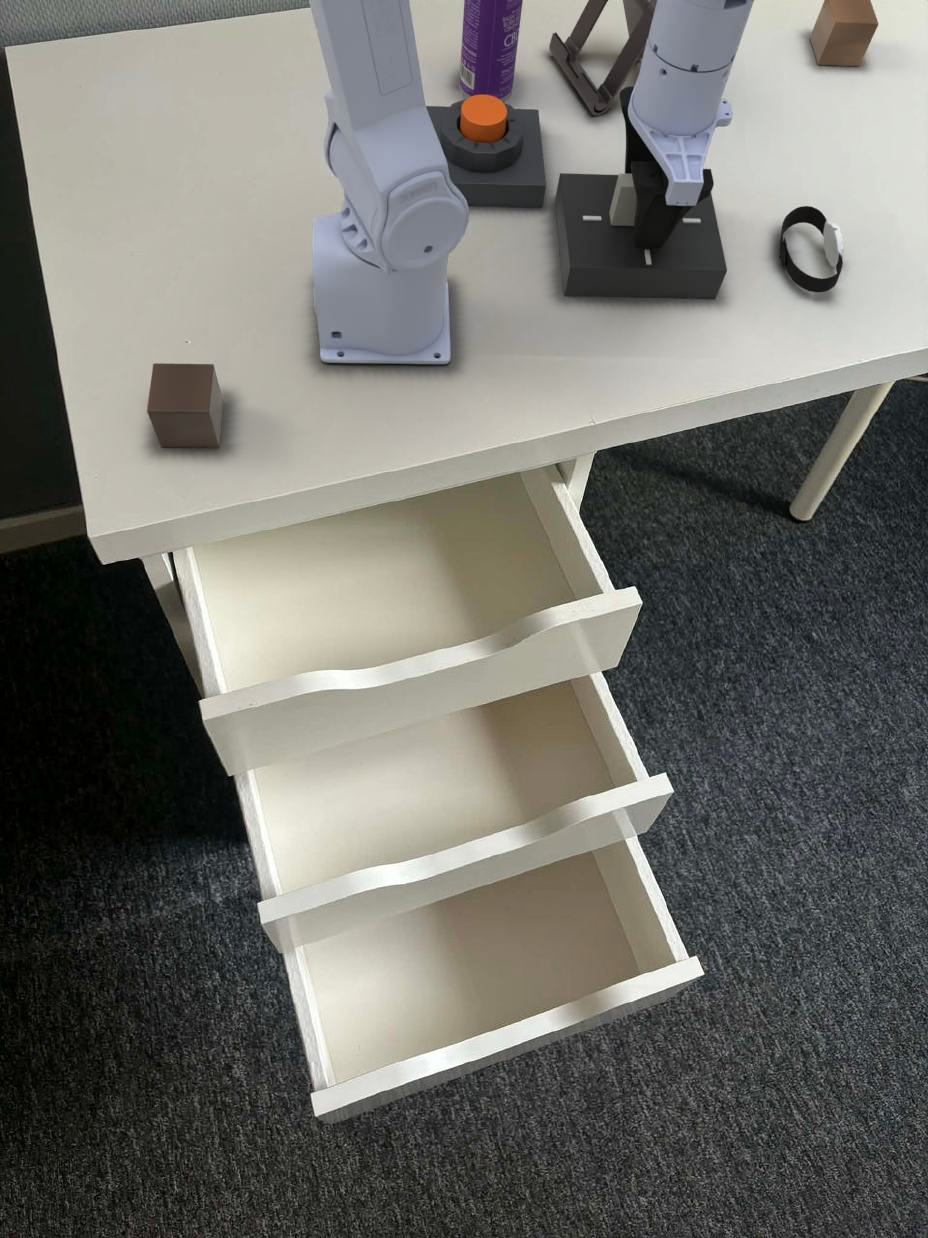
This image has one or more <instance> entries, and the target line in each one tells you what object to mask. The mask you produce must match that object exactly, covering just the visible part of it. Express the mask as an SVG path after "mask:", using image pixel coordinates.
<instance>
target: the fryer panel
mask: <svg viewBox="0 0 928 1238" xmlns="http://www.w3.org/2000/svg"><path fill="white" fill-rule="evenodd" d="M618 175H619V174H599V173H596V174H595V173H567V172H566V173H565V172H561V173H559V175H558V176H559V177H558V181H557V182H558V183H557V187H556V193H555V198H554V211H555V212H554V214H555V222H556V223H555V224H556V232H557V242H558V253H559V261H560V270H561V271H560V272H561V278H562V279H561V280H562V281H561V282H562V290H563V296H564V297H584V298H588V297H589V298H590V297H591V298H637V299H638V298H641V299H642V298H643V299H648V298H649V299H685V300H687V299H691V300H693V299H694V300H716V298H717V296H718V294H719V292H720V289H721V286H722V284H723V282H724V280H725V278H726V275H727V272H728V269H727V268H728V267H727V263H726V257H725V253H724V249H723V248H724V247H723V244H722V239H721V234H720V229H719V225H718V224H719V223H718V218H717V215H716V210H715V204H714V199H713V195H712V194H713V193H712V192H711V193H710V195H709V196H708V197H707V198H705V199H703V200H702V201H700V202H699V203H698V204H696V206H694V207H693V208H691V209H690V210H689V211H688V212H687V213H686V214H685V215H684V217H683V218H682V219H681V220H680V222H679V223H678V224H677V226H676V227H675V229H674V230H673V231H672V233H671V234H670V236H669V237H668V239H667V240H666V242H665V243H664V244H663V246H662V247H661V248H636V247H635V243H634V226H612V225H611V221H610V214H609V212H610V208H611V204H612V200H613V195H614V191H615V187H616V183H617V179H618Z"/></svg>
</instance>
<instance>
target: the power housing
mask: <svg viewBox="0 0 928 1238" xmlns="http://www.w3.org/2000/svg"><path fill="white" fill-rule="evenodd" d="M465 100H466V98H464V99H462V100H459V101H457V102H454V103H452V104H450V106H445V105H444V106H439V105H426V108H427V111H428V113H429V116H430V119H431V121H432V124H433V126H434V129H435V132H436V134H437V137H438V139H439V142H440V144H441V147H442V150H443V152H444V155H445V158H446V160H447V164H448V171H449V177H450V180H451V181H452V183H453V184H454V185H455V186H456V187H457V188H458V190H459V191H460V192H461V193H462V194H463V196H464V197H465V199H466V201H467V204H468V207H499V208H501V207H502V208H503V207H504V208H539V209H540V208H541V209H542V208H543V207H544V206H543V205H544V201H545V196H546V195H545V194H546V188H547V180H546V172H545V161H544V152H543V142H542V133H541V122H540V113H539V112H540V111H539V109H534V108H533V109H531V108H530V109H529V108H514V107H513V106H512V105H510V104H508V103H505V102H503V103H504V104H505V106H506V108H507V118H506V127H505V133H504V135H503V137H502V138H501V139H500V140H498V141H495V142H493V143H477V142H474V141H472V140H470V139H467V138H465V137H464V136H463V134H462V132H461V130H460V122H461V107H462V104H463V103H464V101H465Z"/></svg>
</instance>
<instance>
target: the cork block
mask: <svg viewBox="0 0 928 1238" xmlns="http://www.w3.org/2000/svg"><path fill="white" fill-rule="evenodd" d="M878 26H879V21H878V18H877V15H876V12H875V9H874V7H873V4H872V1H871V0H823V3H822V6H821V7H820V11H819V12H818V15H817V18H816V21H815V23H814V26H813V28H812V31H811V33H810V36H809V39H810V43H811V47H812V50H813V53H814V57H815V60H816V63H817V65H818V66H835V67H837V66H838V67H839V66H840V67H860V66H861V63H862V61H863V59H864V57H865V56H866V52H867V50H868V49H869V46H870V44H871V41H872V39H873V37H874V35H875V33H876V31H877V29H878Z"/></svg>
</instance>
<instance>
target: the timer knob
mask: <svg viewBox="0 0 928 1238" xmlns="http://www.w3.org/2000/svg"><path fill="white" fill-rule="evenodd" d="M617 175H618V179H617V183H616V187H615V191H614V195H613V200H612V204H611V208H610V212H609V214H610V221H611V225H612V226H634V221H635V213H636V199H637V196H636V191H635V187H634V183H633V178H632V174H625V173H618V174H617Z"/></svg>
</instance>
